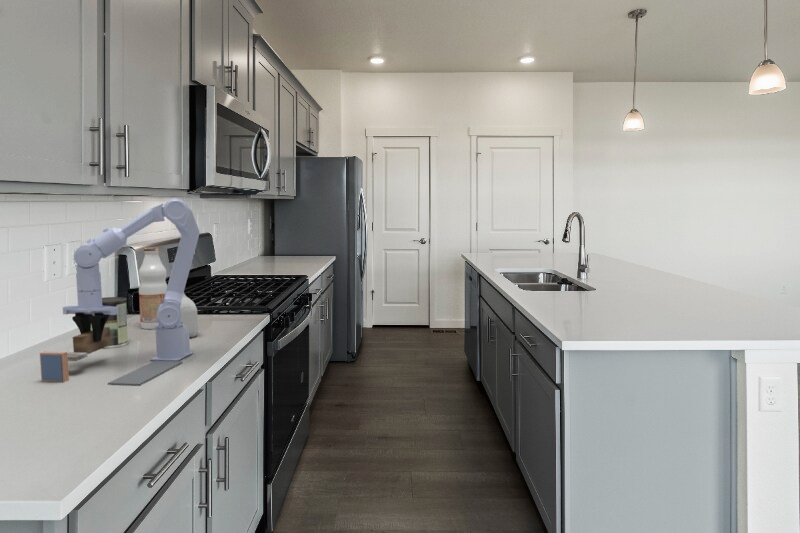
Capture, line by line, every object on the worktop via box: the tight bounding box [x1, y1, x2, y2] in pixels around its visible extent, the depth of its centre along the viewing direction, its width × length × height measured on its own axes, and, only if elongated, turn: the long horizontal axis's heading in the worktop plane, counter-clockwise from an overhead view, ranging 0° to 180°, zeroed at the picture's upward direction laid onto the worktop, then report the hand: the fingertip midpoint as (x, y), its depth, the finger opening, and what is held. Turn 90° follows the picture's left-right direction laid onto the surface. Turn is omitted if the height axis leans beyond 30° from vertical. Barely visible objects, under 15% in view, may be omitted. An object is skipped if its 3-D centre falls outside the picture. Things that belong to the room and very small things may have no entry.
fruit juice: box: [138, 246, 168, 330], centre depth 212 cm, size 9×9×28 cm
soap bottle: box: [180, 291, 199, 338], centre depth 195 cm, size 10×10×23 cm
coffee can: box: [91, 296, 129, 349], centre depth 185 cm, size 10×10×14 cm
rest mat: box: [107, 360, 184, 386], centre depth 153 cm, size 21×8×1 cm, turn 173°
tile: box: [39, 350, 70, 383], centre depth 146 cm, size 2×6×7 cm, turn 83°
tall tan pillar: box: [67, 327, 111, 362], centre depth 159 cm, size 16×5×5 cm, turn 173°
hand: (92, 341), depth 161 cm, fingers closed on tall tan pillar, 2 cm apart
